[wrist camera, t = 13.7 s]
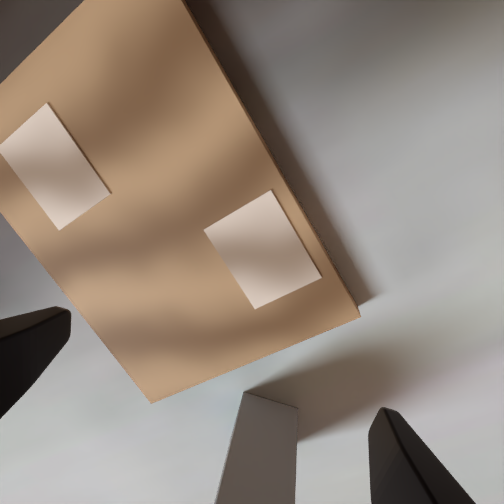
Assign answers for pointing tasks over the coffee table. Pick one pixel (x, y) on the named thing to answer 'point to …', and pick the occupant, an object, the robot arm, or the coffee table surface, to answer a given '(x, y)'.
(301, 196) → the coffee table surface
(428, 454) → the robot arm
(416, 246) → the coffee table surface
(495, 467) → the coffee table surface
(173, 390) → the label board
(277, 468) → the slate post
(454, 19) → the coffee table surface
